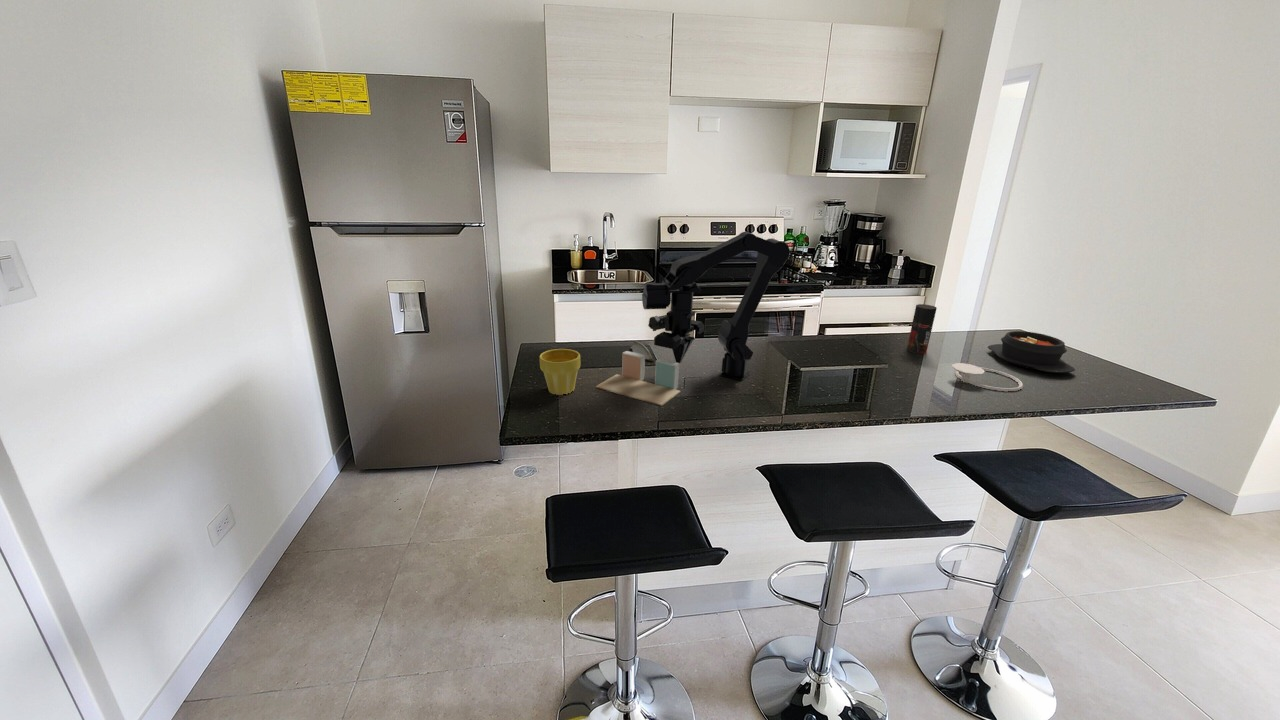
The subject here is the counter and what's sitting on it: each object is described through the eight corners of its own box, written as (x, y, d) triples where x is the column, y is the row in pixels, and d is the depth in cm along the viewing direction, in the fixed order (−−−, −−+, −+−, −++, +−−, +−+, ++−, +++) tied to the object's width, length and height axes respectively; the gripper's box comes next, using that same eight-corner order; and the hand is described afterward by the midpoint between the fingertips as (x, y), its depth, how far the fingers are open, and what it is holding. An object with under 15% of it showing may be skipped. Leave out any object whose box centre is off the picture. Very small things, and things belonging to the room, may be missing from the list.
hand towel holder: (1042, 376, 147) (979, 381, 143) (1037, 391, 149) (975, 396, 144) (992, 355, 162) (934, 358, 158) (988, 368, 164) (930, 372, 159)
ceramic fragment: (655, 362, 161) (655, 350, 160) (639, 364, 159) (639, 352, 158) (636, 348, 173) (636, 337, 172) (621, 350, 171) (621, 339, 170)
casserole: (1089, 376, 159) (1099, 350, 156) (1038, 380, 155) (1047, 353, 152) (1017, 348, 182) (1024, 324, 179) (971, 351, 178) (977, 327, 175)
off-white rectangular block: (644, 378, 148) (645, 355, 146) (640, 381, 146) (640, 357, 144) (625, 374, 151) (626, 350, 149) (621, 376, 149) (622, 353, 147)
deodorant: (911, 346, 181) (921, 303, 175) (929, 351, 176) (940, 307, 171) (903, 349, 177) (912, 305, 172) (921, 355, 173) (931, 310, 168)
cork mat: (680, 392, 140) (680, 390, 140) (662, 406, 132) (662, 404, 132) (616, 375, 150) (616, 374, 150) (595, 387, 142) (595, 386, 142)
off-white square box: (677, 387, 143) (679, 363, 141) (674, 390, 141) (675, 365, 139) (658, 382, 146) (659, 358, 144) (654, 385, 144) (655, 360, 142)
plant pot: (533, 388, 140) (531, 353, 137) (567, 379, 146) (566, 345, 143) (554, 402, 133) (553, 365, 129) (588, 391, 139) (588, 356, 135)
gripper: (671, 296, 153) (668, 348, 159) (637, 310, 138) (635, 367, 144) (706, 302, 148) (702, 355, 153) (675, 318, 133) (672, 376, 138)
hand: (678, 362), depth 147 cm, fingers closed
